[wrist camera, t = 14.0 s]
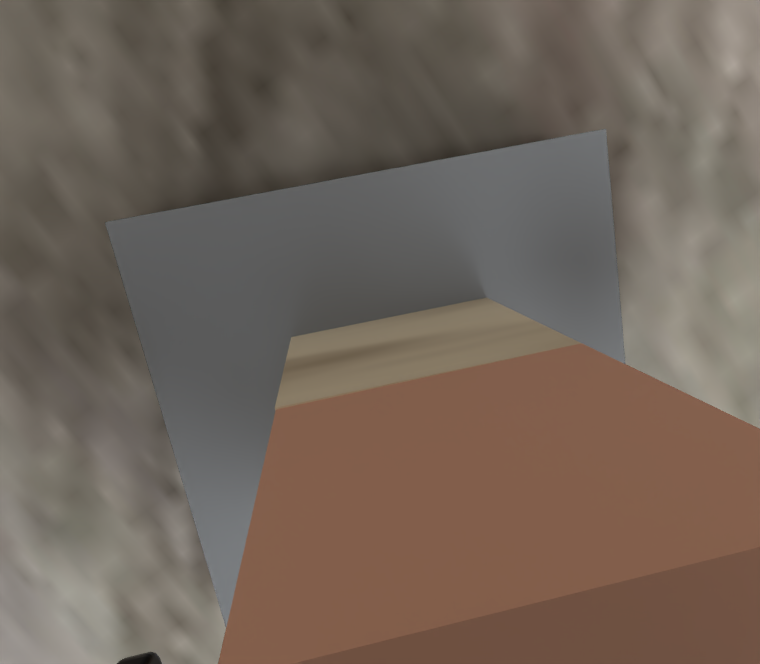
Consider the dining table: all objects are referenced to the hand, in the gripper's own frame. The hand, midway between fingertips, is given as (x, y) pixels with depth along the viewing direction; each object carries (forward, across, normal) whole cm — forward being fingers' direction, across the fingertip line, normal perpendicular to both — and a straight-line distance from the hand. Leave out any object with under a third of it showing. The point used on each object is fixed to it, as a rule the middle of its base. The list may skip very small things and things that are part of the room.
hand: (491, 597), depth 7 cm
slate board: (+10, 0, 0) cm, 10 cm away
